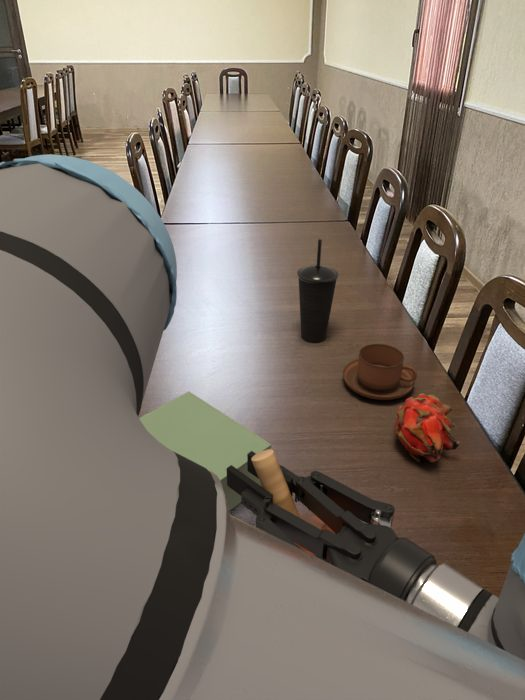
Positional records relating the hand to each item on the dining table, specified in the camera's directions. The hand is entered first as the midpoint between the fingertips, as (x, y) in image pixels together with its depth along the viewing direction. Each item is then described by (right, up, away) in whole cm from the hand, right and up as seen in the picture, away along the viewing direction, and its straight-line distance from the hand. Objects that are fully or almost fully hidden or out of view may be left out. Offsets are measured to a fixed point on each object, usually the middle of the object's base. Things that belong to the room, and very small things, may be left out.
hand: (239, 468), depth 63 cm
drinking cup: (+13, +16, +44) cm, 48 cm away
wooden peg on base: (+7, -10, -3) cm, 12 cm away
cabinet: (-6, -3, +11) cm, 13 cm away
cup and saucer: (+22, +8, +30) cm, 38 cm away
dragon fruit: (+26, -1, +16) cm, 31 cm away
